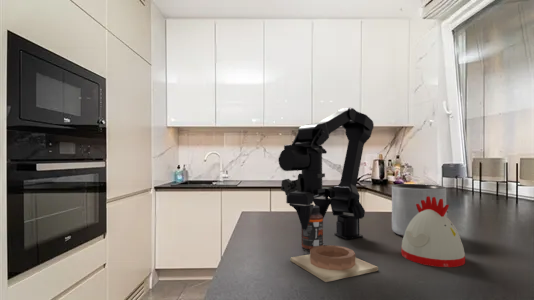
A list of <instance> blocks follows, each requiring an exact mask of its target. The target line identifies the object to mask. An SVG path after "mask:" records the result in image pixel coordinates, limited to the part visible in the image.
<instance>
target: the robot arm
mask: <svg viewBox="0 0 534 300" xmlns="http://www.w3.org/2000/svg"><path fill="white" fill-rule="evenodd" d="M374 126H375V125H374V121H373V120H372V119H371V118H370V117H369V116H368V115H367V114H364V113H362V112H359V111H357V110H356V109H355V108H353V107H345V108H339V109H338V110H337V111H336V112H334V113H332V114H330V115H329V116H327V117H325V118H324V119H321V120H320V121H318V122H313V123H310V124H306V125H302V126H299V128H298V130H297V133H296V135H295V137H294V139H293V141H292V143H291V144H284V146H283V148H284V149H283V150H282V151H281V152H280V154H279V156H278V165H279V167H280V169H281V170H283V171H284V172H295V171H296V172H298V171H301V173H298V175H297V179H294V180H291V179H290V178H284V179H282V180H281V188H280V190H281V191H282V192H284V193H285V199H286V201H285V202H286V204H288V205H289V207H292V208H294V210H295V211H296V214H297V216H298V218H299V222H300V225H301V226H302V229H303V230H307V227H308V224H309V221H310V217H311V213H312V210H313V206H319V210H320V211H319V213H320V214H321V215H322V216H323V219H324V218H325V217H326V215H327V214H326V213H327V212H328V209H329V208H330V209H331V212H332V215H333V217H334V216H336V217H337V219H336V222H335V223H336V232H334V235H335V236H337V237H339V238H344V239H346V240H351V239H358V238H363V237H364V235H363V234H360V219H361V220H363V218H365V214H366V210H365V208H364V206H363V205H362V203H361V202H360V197H361V196H360V194H359V193H360V192H359V191H358V188H357V183H358V178H359V174H360V173H359V172H360V167H361V161H362V156H363V152H364V151H363V150H364V148H365V147H364V146H365V144H366V142H368V140H369V139H370V138H371V136H372V133H373V130H374ZM340 127H342V129H344V130H345V136H346V137H347V141H348V142H347V149H346V152H345V158H344V162H343V167H342V171H341V172H342V173H341V179H340V182H339V183H338V184H337V185H334V186H332V187H326V186H324V187H323V178H326V173H325V172H324V173H323V154H327V150H326V149H325V148H324V147H323V146H322V145H324V143H326V142H327V141H328V140H329V139H330V134H331V133H333V132H334V131H336V130H337V129H339V128H340Z"/></svg>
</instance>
